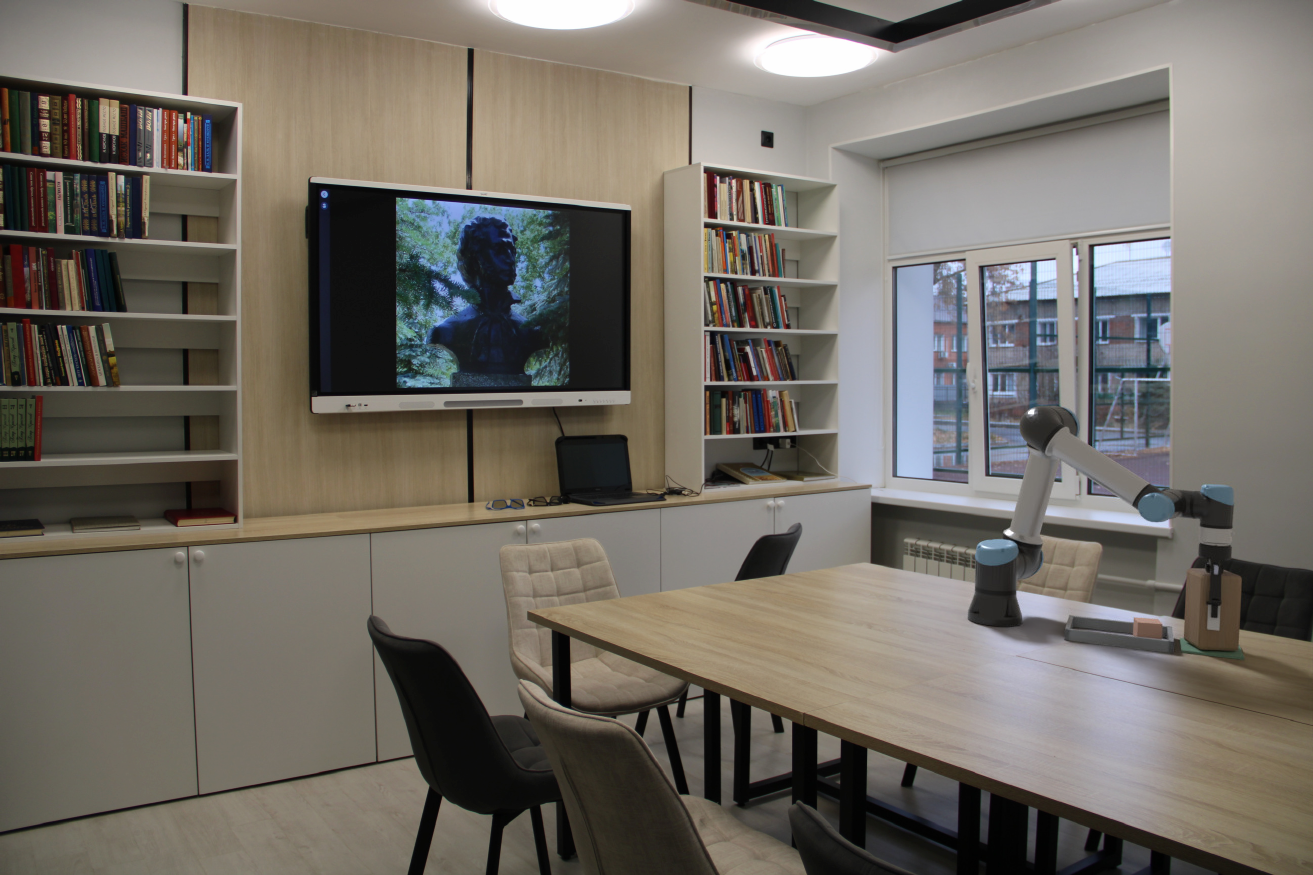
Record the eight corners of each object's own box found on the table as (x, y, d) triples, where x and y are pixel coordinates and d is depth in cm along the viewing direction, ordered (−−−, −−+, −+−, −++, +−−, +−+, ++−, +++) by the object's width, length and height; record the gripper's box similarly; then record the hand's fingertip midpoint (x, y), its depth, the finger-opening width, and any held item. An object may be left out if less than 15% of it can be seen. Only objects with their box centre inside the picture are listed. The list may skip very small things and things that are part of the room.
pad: (1181, 652, 246) (1181, 650, 246) (1179, 639, 258) (1179, 637, 258) (1244, 659, 239) (1244, 657, 239) (1239, 646, 252) (1239, 644, 252)
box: (1136, 644, 254) (1137, 622, 253) (1132, 638, 259) (1133, 617, 259) (1161, 646, 252) (1162, 624, 251) (1157, 640, 258) (1157, 619, 257)
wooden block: (1220, 641, 253) (1224, 568, 252) (1240, 652, 243) (1243, 575, 242) (1182, 640, 254) (1185, 567, 253) (1199, 650, 244) (1203, 574, 243)
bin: (1064, 639, 257) (1064, 629, 257) (1068, 625, 273) (1069, 615, 273) (1173, 653, 245) (1174, 641, 245) (1171, 637, 261) (1172, 626, 261)
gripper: (1236, 551, 235) (1232, 636, 236) (1228, 538, 256) (1224, 616, 257) (1201, 548, 238) (1197, 632, 239) (1196, 535, 260) (1193, 613, 261)
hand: (1211, 624), depth 248 cm, fingers closed on wooden block, 12 cm apart
